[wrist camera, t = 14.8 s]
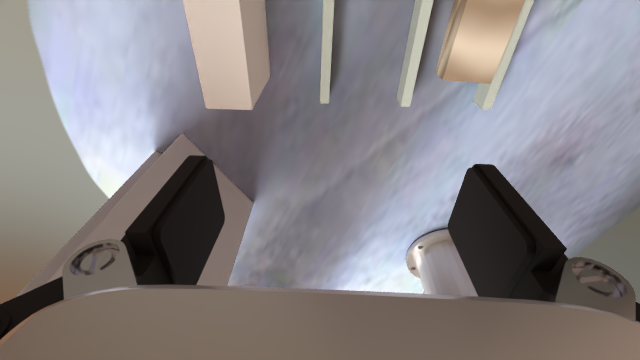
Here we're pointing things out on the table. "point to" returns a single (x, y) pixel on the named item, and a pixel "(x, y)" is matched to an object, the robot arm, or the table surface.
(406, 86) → the rack
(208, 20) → the cream rectangular block
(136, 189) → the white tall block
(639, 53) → the table surface
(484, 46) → the offcut upper
